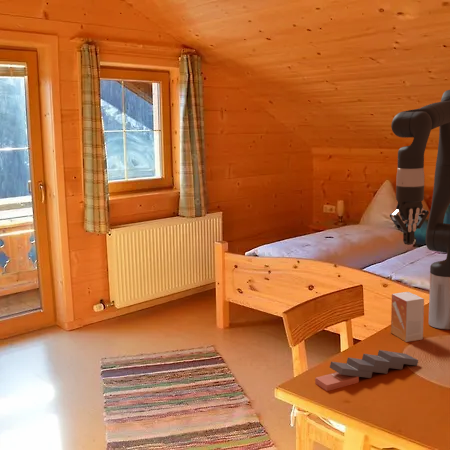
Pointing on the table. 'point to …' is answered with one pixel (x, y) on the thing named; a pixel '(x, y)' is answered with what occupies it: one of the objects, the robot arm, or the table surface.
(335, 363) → the domino
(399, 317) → the small box
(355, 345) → the table surface
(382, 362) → the domino
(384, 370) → the domino
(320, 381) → the domino
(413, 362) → the domino
